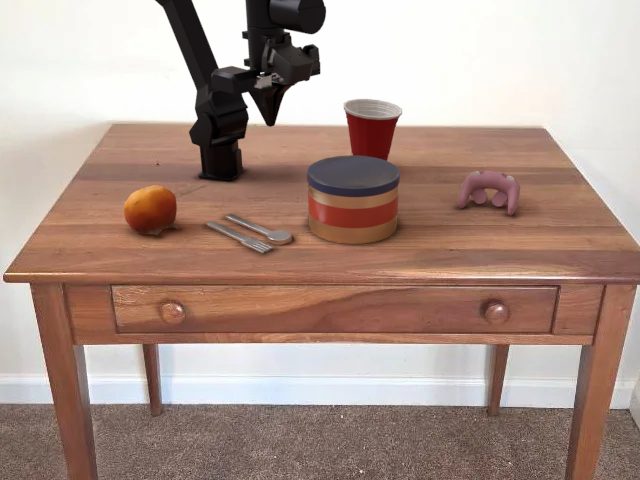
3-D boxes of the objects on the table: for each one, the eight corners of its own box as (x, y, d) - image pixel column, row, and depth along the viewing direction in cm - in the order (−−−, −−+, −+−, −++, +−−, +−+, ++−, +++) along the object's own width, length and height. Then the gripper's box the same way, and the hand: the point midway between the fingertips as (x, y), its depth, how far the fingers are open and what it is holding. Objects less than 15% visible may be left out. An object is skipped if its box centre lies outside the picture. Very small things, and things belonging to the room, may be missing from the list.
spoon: (219, 220, 119) (219, 216, 119) (237, 214, 122) (236, 209, 121) (279, 247, 112) (278, 242, 111) (296, 239, 114) (296, 234, 114)
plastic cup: (394, 182, 135) (397, 116, 128) (336, 177, 136) (336, 111, 130) (403, 162, 144) (407, 99, 137) (349, 157, 145) (349, 95, 139)
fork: (203, 227, 117) (203, 224, 117) (214, 222, 119) (214, 220, 118) (262, 254, 110) (262, 250, 109) (273, 249, 111) (273, 246, 111)
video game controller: (516, 217, 126) (524, 176, 125) (514, 215, 122) (522, 172, 121) (459, 209, 129) (466, 168, 128) (455, 207, 124) (462, 164, 123)
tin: (296, 238, 114) (294, 182, 109) (322, 203, 126) (321, 151, 121) (387, 249, 112) (390, 192, 107) (405, 212, 123) (407, 160, 119)
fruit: (161, 238, 110) (135, 188, 108) (133, 251, 115) (107, 204, 113) (199, 219, 116) (174, 172, 114) (170, 233, 121) (146, 188, 119)
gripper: (255, 41, 104) (261, 150, 112) (345, 24, 116) (344, 124, 124) (204, 30, 110) (214, 134, 118) (295, 15, 122) (297, 110, 130)
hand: (270, 125), depth 123 cm, fingers closed
